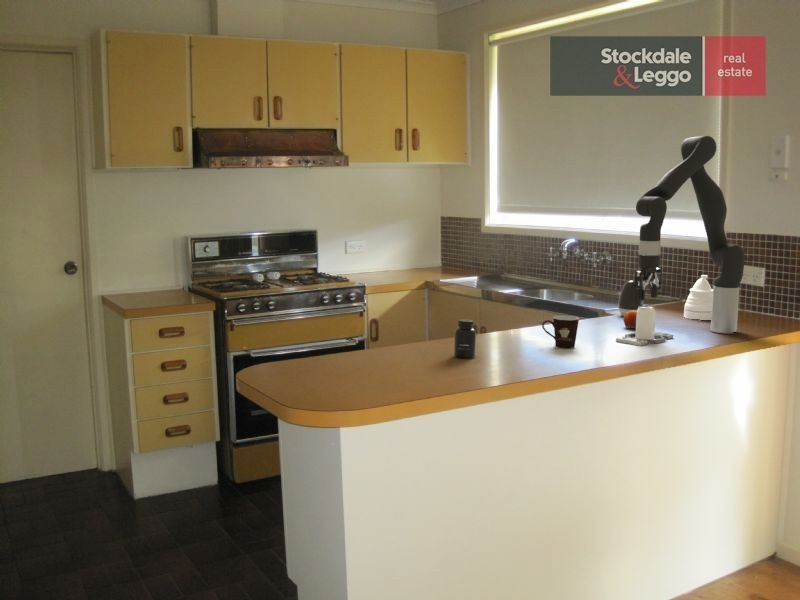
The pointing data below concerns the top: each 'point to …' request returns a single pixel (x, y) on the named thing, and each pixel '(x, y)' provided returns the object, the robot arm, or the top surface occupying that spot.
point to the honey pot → (699, 300)
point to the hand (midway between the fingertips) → (647, 298)
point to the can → (645, 322)
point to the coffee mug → (564, 331)
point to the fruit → (630, 319)
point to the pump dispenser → (629, 298)
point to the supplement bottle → (465, 340)
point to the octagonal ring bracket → (641, 342)
